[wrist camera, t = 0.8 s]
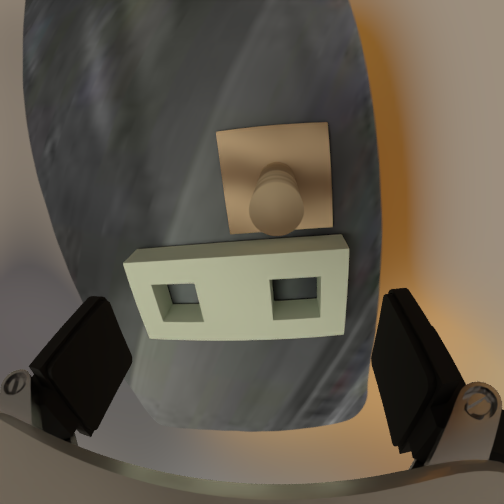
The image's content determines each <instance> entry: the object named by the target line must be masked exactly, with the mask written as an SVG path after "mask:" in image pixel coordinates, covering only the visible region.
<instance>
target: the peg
mask: <svg viewBox="0 0 504 504" xmlns="http://www.w3.org/2000/svg"><path fill="white" fill-rule="evenodd" d="M249 215H250V218H251V221H252V223H253V224H254V225H255V227H256V228H257V229H258V230H260V231H261V232H263V233H265V234H268V235H271V236H282V235H286V234H288V233H290V232H292V231H293V230H295V229H296V228H297V227H298V226H299V224H300V223H301V221H302V218H303V215H304V205H303V201H302V198H301V195H300V192H299V189H298V186H297V183H296V179H295V176H294V173H293V171H292V170H291V168H290V167H289V166H287V165H286V164H284V163H280V162H273V163H270V164H268V165H266V166H265V167H264V168H263V169H262V171H261V173H260V176H259V179H258V181H257V184H256V187H255V190H254V192H253V195H252V198H251V201H250V204H249Z"/></svg>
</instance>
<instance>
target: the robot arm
mask: <svg viewBox="0 0 504 504" xmlns="http://www.w3.org/2000/svg"><path fill="white" fill-rule="evenodd" d="M371 362H372V367H373V371H374V374H375V378H376V381H377V384H378V388H379V392H380V396H381V399H382V403H383V407H384V411H385V415H386V419H387V423H388V427H389V431H390V435H391V439H392V443H393V445H394V446H398V447H399V453H400V454H402V453H406V452H410V451H411V452H412V456H413V458H414V461H413V463H412V465H411V466H410V468H409V470H405V471H400V472H395V473H390V474H385V475H380V476H374V477H368V478H361V479H354V480H346V481H335V482H325V483H313V484H312V483H311V484H282V485H281V484H246V483H233V482H222V481H213V480H206V479H198V478H192V477H186V476H180V475H174V474H169V473H165V472H160V471H156V470H151V469H147V468H143V467H140V466H135V465H132V464H129V463H125V462H122V461H119V460H115V459H112V458H109V457H106V456H103V455H100V454H97V453H94V452H91V451H89V450H86V449H83V448H81V447H79V446H78V444H77V440H76V436H75V433H74V432H75V431H76V429H77V430H78V431H79V432H80V433H81V434H84V435H87V436H90V437H91V436H92V434H93V432H94V430H97V429H98V427H99V425H100V423H101V421H102V419H103V417H104V415H105V413H106V411H107V409H108V407H109V405H110V403H111V401H112V400H113V397H114V396H115V394H116V392H117V390H118V388H119V386H120V384H121V383H122V381H123V379H124V377H125V375H126V373H127V371H128V370H129V368H130V366H131V364H132V355H131V353H130V351H129V348H128V346H127V344H126V341H125V339H124V337H123V334H122V332H121V330H120V327H119V325H118V322H117V320H116V317H115V315H114V312H113V309H112V307H111V304H110V302H109V301H107V299H106V298H105V297H97V296H91V297H89V298H88V299H87V300H86V301H85V302H84V303H83V304H82V305H81V306H80V307H79V308H78V309H77V311H76V312H75V313H74V314H73V315H72V316H71V317H70V318H69V320H68V321H67V322H66V323H65V324H64V325H63V326H62V328H60V330H59V331H58V332H57V333H56V334H55V335H54V337H53V338H52V339H51V340H50V341H49V342H48V344H47V345H46V346H45V347H44V348H43V349H42V351H41V352H40V353H39V354H38V356H37V357H36V358H35V359H34V361H33V362H32V363H31V364H30V365H29V367H30V369H31V370H32V372H33V373H34V375H33V377H31V375H30V374H29V372H28V371H26V370H21V369H20V370H16V371H14V372H12V373H10V374H9V375H8V376H7V377H6V378H5V379H4V381H3V382H2V384H1V389H0V504H504V410H502V401H501V397H500V395H499V393H498V392H497V391H496V390H495V389H494V388H493V387H492V386H491V385H488V384H486V383H483V382H472V383H469V384H467V385H466V384H465V382H464V380H463V378H462V376H461V374H460V372H459V371H458V369H457V367H456V365H455V363H454V361H453V359H452V358H451V356H450V354H449V352H448V351H447V349H446V347H445V345H444V344H443V342H442V340H441V338H440V337H439V335H438V333H437V332H436V330H435V329H434V327H433V326H431V324H430V323H429V321H428V319H427V318H426V316H425V314H424V313H423V311H422V310H421V308H420V306H419V305H418V303H417V302H416V300H415V299H414V297H413V296H412V294H411V293H410V291H409V290H408V289H407V288H399V289H391V290H390V291H389V292H388V294H385V295H384V297H383V302H382V307H381V313H380V318H379V324H378V329H377V333H376V338H375V343H374V347H373V352H372V357H371Z"/></svg>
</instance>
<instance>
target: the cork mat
mask: <svg viewBox="0 0 504 504" xmlns="http://www.w3.org/2000/svg"><path fill="white" fill-rule="evenodd" d="M216 136H217V144H218V151H219V159H220V166H221V173H222V180H223V188H224V195H225V202H226V208H227V215H228V222H229V229H230V234H240V233H253V232H261V231H260V230H258V229H257V228H256V227H255V225H254V224H253V223H252V221H251V218H250V215H249V204H250V201H251V198H252V195H253V192H254V190H255V187H256V184H257V181H258V179H259V176H260V173H261V171H262V169H263V168H264V167H265V166H266V165H268V164H270V163H273V162H280V163H284V164H286V165H287V166H289V167H290V168H291V170H292V171H293V173H294V176H295V179H296V183H297V186H298V189H299V192H300V195H301V198H302V201H303V205H304V215H303V218H302V221H301V223H300V224H299V226H298V227H297V228H296V229H311V228H327V227H333V212H332V182H331V163H330V147H329V134H328V122H318V123H297V124H282V125H270V126H259V127H250V128H241V129H233V130H225V131H218V132H216ZM296 229H295V230H296Z"/></svg>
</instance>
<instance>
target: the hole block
mask: <svg viewBox="0 0 504 504" xmlns="http://www.w3.org/2000/svg"><path fill="white" fill-rule="evenodd" d="M123 265H124V268H125V271H126V274H127V277H128V280H129V283H130V286H131V289H132V292H133V295H134V298H135V301H136V304H137V306H138V309H139V312H140V315H141V317H142V320H143V322H144V325H145V328H146V330H147V333H148V335H149V338H150V339H170V340H270V339H291V338H307V337H321V336H333V335H343V334H344V326H345V315H346V302H347V288H348V269H349V247H348V245H347V243H346V241H345V240H344V238H343V236H342V234H338V235H322V236H307V237H292V238H277V239H263V240H249V241H235V242H221V243H208V244H195V245H182V246H170V247H157V248H145V249H137V250H136V251H135V252H134V253H133V254H132V255H131V256H130V257H129V258H128V259H127V260H126V261H125V262H124V263H123ZM303 277H317V298H314V299H300V300H283V301H274V297H273V286H272V279H288V278H303ZM188 283H195V287H196V291H197V295H198V299H199V303H200V304H173V303H172V300H171V297H170V293H169V290H168V286H167V284H188Z"/></svg>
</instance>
